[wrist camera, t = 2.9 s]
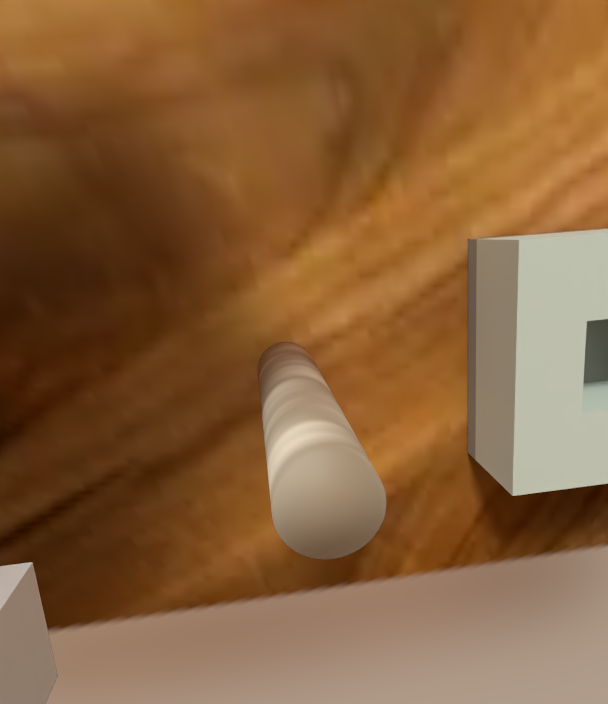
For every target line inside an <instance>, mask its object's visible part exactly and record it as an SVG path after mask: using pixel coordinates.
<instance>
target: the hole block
mask: <svg viewBox="0 0 608 704" xmlns="http://www.w3.org/2000/svg"><path fill="white" fill-rule="evenodd" d="M468 453H469V454H470V455H471V456H472V457H473V458H474V459H475V460H476V461H477V462H478V463H479V464H480V465H481V466H482V467H483V468H484V469H485V470H486V471H487V472H488V473H489V474H490V475H491V476H492V477H493V478H494V479H495V480H497V481H498V482H499V483H500V484H501V485H502V486H503V487H504V488H505V489H506V490H507V491H508V492H509V493H510V494H511V495H512V496H517V495H524V494H532V493H539V492H547V491H555V490H562V489H570V488H577V487H585V486H593V485H600V484H608V228H603V229H591V230H578V231H566V232H553V233H541V234H528V235H515V236H503V237H490V238H478V239H468Z"/></svg>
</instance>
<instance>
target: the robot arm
mask: <svg viewBox="0 0 608 704" xmlns="http://www.w3.org/2000/svg"><path fill="white" fill-rule="evenodd" d="M57 676H58V675H57V671H56V666H55V661H54V657H53V652H52V648H51V644H50V638H49V634H48V629H47V625H46V620H45V616H44V611H43V607H42V602H41V598H40V593H39V589H38V584H37V580H36V575H35V571H34V566H33V562H29V563H21V564H14V565H6V566H0V704H46V701H47V699H48V697H49V694H50V692H51V690H52V688H53V685H54V683H55V681H56V678H57Z"/></svg>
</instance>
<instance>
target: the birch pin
mask: <svg viewBox="0 0 608 704" xmlns="http://www.w3.org/2000/svg"><path fill="white" fill-rule="evenodd" d="M258 379H259V389H260V399H261V409H262V419H263V429H264V439H265V449H266V459H267V469H268V479H269V489H270V499H271V509H272V518H273V523H274V526H275V529H276V531H277V533H278V535H279V536H280V538H281V539H282V541H283V542H284V543H285V544H286V545H287V546H288V547H290V548H291V549H292V550H294V551H295V552H297V553H299V554H301V555H304V556H306V557H310V558H315V559H335V558H340V557H343V556H346V555H349V554H351V553H353V552H355V551H357V550H359V549H360V548H362V547H363V546H364V545H366V544H367V543H368V542H369V541H370V540H371V539H372V538H373V537H374V535H375V534H376V533H377V531H378V530H379V528H380V526H381V524H382V522H383V519H384V516H385V511H386V494H385V490H384V487H383V484H382V482H381V480H380V478H379V477H378V475H377V473H376V471H375V469H374V468H373V466H372V464H371V462H370V460H369V459H368V457H367V455H366V453H365V451H364V450H363V448H362V446H361V444H360V443H359V441H358V439H357V437H356V435H355V434H354V432H353V430H352V428H351V426H350V425H349V423H348V421H347V419H346V418H345V416H344V414H343V412H342V410H341V409H340V407H339V405H338V403H337V401H336V400H335V398H334V396H333V394H332V393H331V391H330V389H329V387H328V385H327V384H326V382H325V380H324V378H323V376H322V375H321V373H320V371H319V369H318V368H317V366H316V364H315V362H314V360H313V359H312V357H311V355H310V354H309V352H308V351H307V350H306V349H305V348H304V347H302V346H300V345H299V344H296V343H292V342H281V343H277V344H275V345H273V346H271V347H269V348H268V349H267V350H266V351H265V352H264V353H263V355H262V356H261V358H260V361H259V364H258Z"/></svg>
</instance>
